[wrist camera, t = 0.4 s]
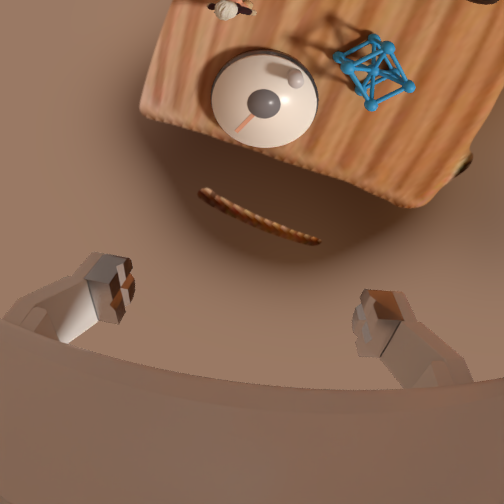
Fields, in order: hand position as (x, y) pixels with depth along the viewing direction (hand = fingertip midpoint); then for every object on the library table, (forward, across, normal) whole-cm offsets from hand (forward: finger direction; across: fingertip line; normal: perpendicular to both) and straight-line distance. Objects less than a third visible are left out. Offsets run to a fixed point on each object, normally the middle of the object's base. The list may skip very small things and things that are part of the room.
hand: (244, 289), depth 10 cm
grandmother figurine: (+46, +8, -21) cm, 52 cm away
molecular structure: (+49, -16, -14) cm, 54 cm away
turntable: (+50, +2, -3) cm, 50 cm away
